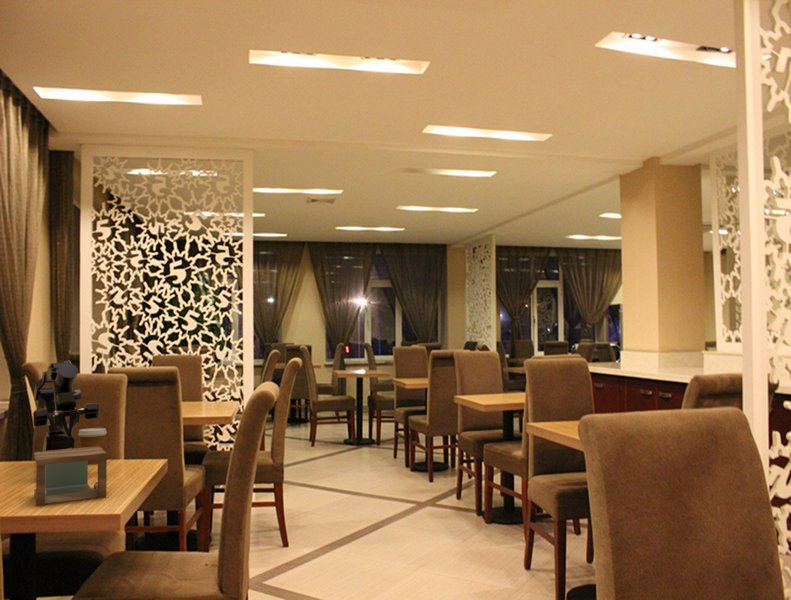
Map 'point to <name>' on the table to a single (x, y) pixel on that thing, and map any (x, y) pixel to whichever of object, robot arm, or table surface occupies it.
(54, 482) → the teal plastic shell
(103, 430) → the disposable coffee cup
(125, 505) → the table surface
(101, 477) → the walnut overhang shelf
